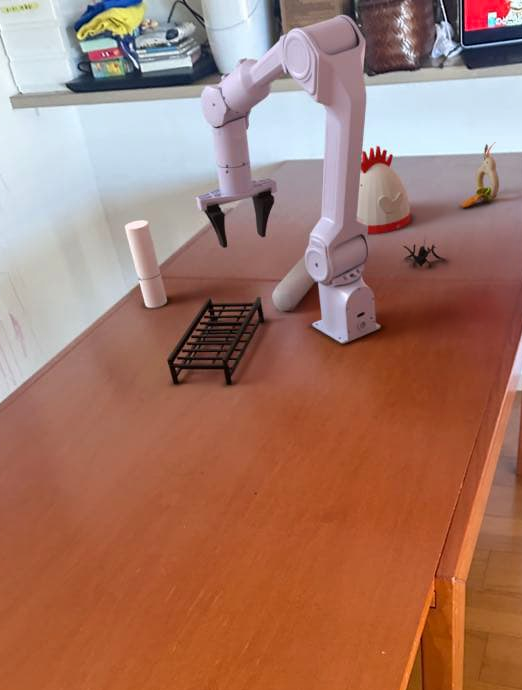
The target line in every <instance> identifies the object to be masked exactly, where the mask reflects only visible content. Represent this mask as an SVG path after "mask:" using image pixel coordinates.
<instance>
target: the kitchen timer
mask: <svg viewBox="0 0 522 690" xmlns="http://www.w3.org/2000/svg"><path fill="white" fill-rule="evenodd" d="M387 153H388V150H386V149H383V150H382V152H381V147H380V146H379V145H376V147H375V150H374V147H370V148H369V156H368V155H367V152H366V151H365V150H362V160H361V172H360V184H359V196H358V208H357V217H359V218H360V219H362V220H363V221H364V222H365V223H366V224H367V225H368V235H370V234H384V233H389V232H392V231H396V230H399V229H402V228H404V227H405V226H407V225H408V224H409V223H410V222H411V206H410V200H409V198H408V197H409V196H408V194H407V192H406V189H405V185H404V183H403V181H402V180H401V179H400V177H399V175H398V174H397V172H395V171H394V170H393V168H391V164H392V162H393V156H394V155H393V154H392V153H389V155H388V157H387Z"/></svg>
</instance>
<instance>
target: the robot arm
mask: <svg viewBox="0 0 522 690" xmlns="http://www.w3.org/2000/svg"><path fill="white" fill-rule="evenodd" d="M365 54H366V39H365V37H364V36H363V34H362V32H361V31H360V29H359V27H358V25H357V24H356V22H355V20H353V19H352V18H351V17H350V16H349V15H347V14H339V15H336V16H334V17H333V18H329V19H327V20H322V21H321V22H320V21H319V22H317V23H314V24H310V25H307V26H304V27H294V28H293V29H291V30H290V31H288V33H285V34H283V35H281V36H280V37H279V40H278V41H277V42H276V43H275V44H274V45H273V46H272V47H271V48H270V49H269V50H268V51H267V52H266V53H264V55H263V56H262V57H261V58H259V60H257V59H253V58H249V59H248V58H247V57H245V58H240V59H238V60H237V61H236V62H235V67H236V68H235V69H234V70H233V71H231V72H227V73H225V74H223V75H221V80H220V82H219V83H217V84H214V85H206V86H205V87H204V89H203V90H202V91H201V95H200V107H201V111H202V114H203V118H204V119H205V120H206V122H207V123H208V124H209V125H210V127H211V133H212V134H211V135H212V140H213V147H214V156H215V163H216V169H217V170H216V171H217V177H218V184H219V187H218V188H215V189H213V190H211V191H209V192H206V193H203V194H201V195H198V196H195V199H196V204H197V205H196V206H197V209H198V210H199V211H201V212H204V214H205V216H207V218H208V220H209V222H210V224H211V225H212V228H213V229H214V231H215V234H216V237H217V240H218V243H219V246H221V248H223V249H225V248H228V240H227V233H226V224H225V223H226V222H225V221H226V220H225V217H226V214H225V212H223V211H222V207H220V206H222V205H226V204H230V203H234V202H237V201H241V200H242V201H243V200H246V199H249V198H251V199H252V203H253V208H254V213H255V225H256V231H257V235H259V236H260V237H261V238H266V234H267V226H268V222H269V217H270V215H271V214H270V213H271V211H272V208H273V206H274V204H275V196H274V195H273V194H275V193H278V187H277V181H276V180H275V178H272V177H268V178H262V179H256V180H253V177H252V169H251V159H250V150H249V141H248V129H249V127H250V122H249V121H250V120H249V119H250V114H251V113H252V109H253V108H255V107H256V106H257V105H258V104H259V103H261V102H262V101H264V100H265V99H266V98H268V96H269V95H270V93H271V90H272V83H274V82H275V81H276V80H278V79H279V78H281V77H283V76H284V75H290V76H291V78H292V79H293V80H294V81H295V82H296V83H297V84H298V85H299V87H300V88H302V89H303V91H304V92H306V94H307V95H308V96H309V97H310V98H311V99H312V100H313V101H314V102H315V103H317V104H321V105H322V106H323V107H324V109H325V131H324V150H323V151H324V153H323V171H322V172H323V173H322V192H321V194H322V196H321V214H320V215H321V216H320V219H319V220H318V221H317V222H316V225H314V228H313V229H312V230H311V232H310V234H309V242H308V246H307V247H306V249H305V251H304V255H305V264H306V268H307V270H308V272H309V274H310V275H311V277H312V278H313V279H314V281H316V282H315V283H317V284H318V285H317V286H318V295H319V305H320V306H319V307H320V314H321V315H320V316H321V319H319V320H317V321H314V322H313V323H312V327H313V328H315V329H317V330H318V331H320V332H322V333H323V334H325V335H327V336H329V337H330V338H332V339H334V340H335V341H337V342H338V343H340V344H347V343H349V342H351V341H354V340H356V339H358V338H361V337H363V336H366V335H368V334H370V333H373V332H375V331H378V330H380V329H381V324H379V323H377V320H376V319H377V317H376V315H377V314H376V300H375V299H376V298H375V293H374V291H373V290H372V288H371V287H369V286H368V285H367V284H366V282H365V281H364V279H363V275H362V273H363V272H365V264H366V263H367V262H368V261H369V259H370V256H371V244H370V241H369V236H368V235H369V234H368V225H367V224H366V223H365V222H364V221H363V220H362V219H360V218H359V217H357V208H358V196H359V184H360V172H361V171H362V170H361V162H362V161H363V160H362V151H363V146H364V137H365V136H364V134H365V123H366V110H367V88H366V82H365V76H364V66H365Z"/></svg>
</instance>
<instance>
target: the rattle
mask: <svg viewBox="0 0 522 690" xmlns="http://www.w3.org/2000/svg"><path fill="white" fill-rule="evenodd" d="M494 144H495V143H492V145H491V146H489V144H487V143H485V146H484V149H483V162H482V165H481V166H480V167H479V168H478V169H477V171H476V175H475V189H476V191H475V195H473V196H471V197H470V198H468V199H466V200H464V202H463V203H462V204H461V208H462V209H465V208H469V207H470V206H472V205H474V204H475V203H477V201H478V200H479V199H481V200H483V201H485V202H492V201H494V200H495V199H496V198H497V197H498V192H499V188H500V180H499V179H500V178H499V174H498V172H497V163H496V160H495V159H494V157H491V156H490V151H491V149H492V148H493V146H494ZM485 175H486V176H489V180H490V186H486V187H485V184H484V177H485Z"/></svg>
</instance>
